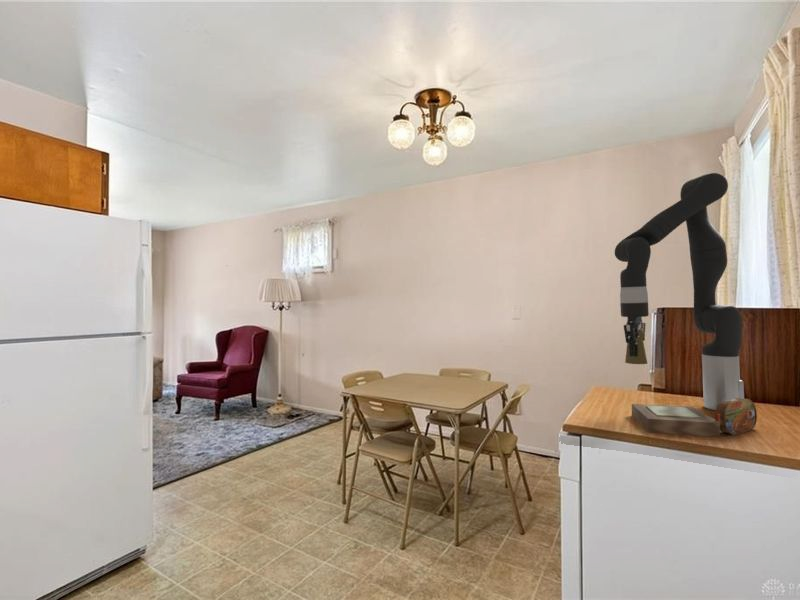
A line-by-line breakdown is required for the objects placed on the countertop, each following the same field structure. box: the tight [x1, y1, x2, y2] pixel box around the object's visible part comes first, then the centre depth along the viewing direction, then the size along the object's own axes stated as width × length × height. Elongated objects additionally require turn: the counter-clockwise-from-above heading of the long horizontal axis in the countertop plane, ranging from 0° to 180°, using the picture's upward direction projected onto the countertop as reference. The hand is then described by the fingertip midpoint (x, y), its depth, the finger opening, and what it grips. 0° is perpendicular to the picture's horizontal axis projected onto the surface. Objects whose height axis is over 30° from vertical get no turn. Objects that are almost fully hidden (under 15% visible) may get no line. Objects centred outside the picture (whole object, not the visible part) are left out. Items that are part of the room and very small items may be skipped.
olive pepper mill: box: [624, 329, 648, 365], centre depth 120 cm, size 6×6×11 cm
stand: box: [631, 403, 721, 438], centre depth 108 cm, size 16×16×4 cm
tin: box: [714, 398, 758, 436], centre depth 102 cm, size 15×3×8 cm, turn 114°
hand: (636, 355), depth 120 cm, fingers closed on olive pepper mill, 4 cm apart
